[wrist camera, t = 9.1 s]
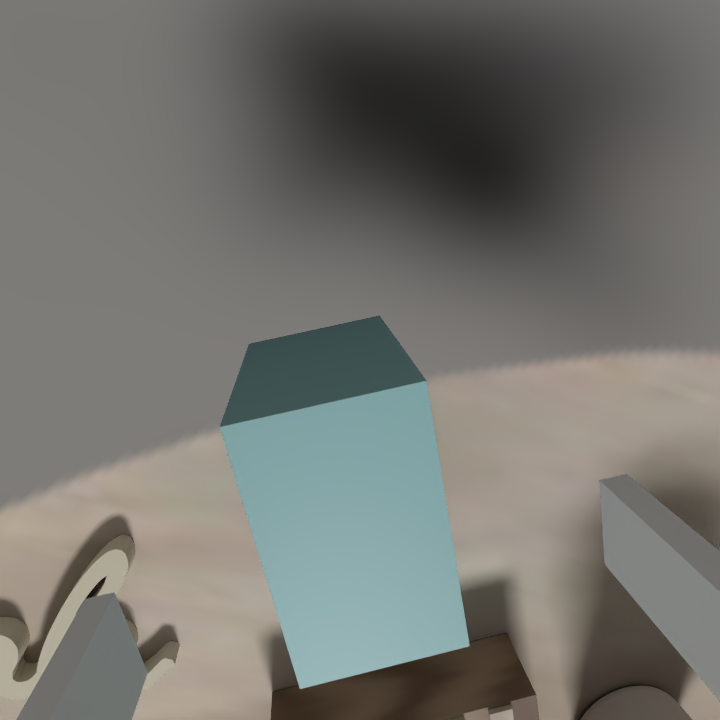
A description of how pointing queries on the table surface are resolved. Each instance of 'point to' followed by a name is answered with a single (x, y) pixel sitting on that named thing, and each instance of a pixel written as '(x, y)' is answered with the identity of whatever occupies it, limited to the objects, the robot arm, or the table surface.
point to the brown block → (423, 689)
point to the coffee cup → (636, 706)
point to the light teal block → (346, 499)
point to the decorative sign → (11, 636)
